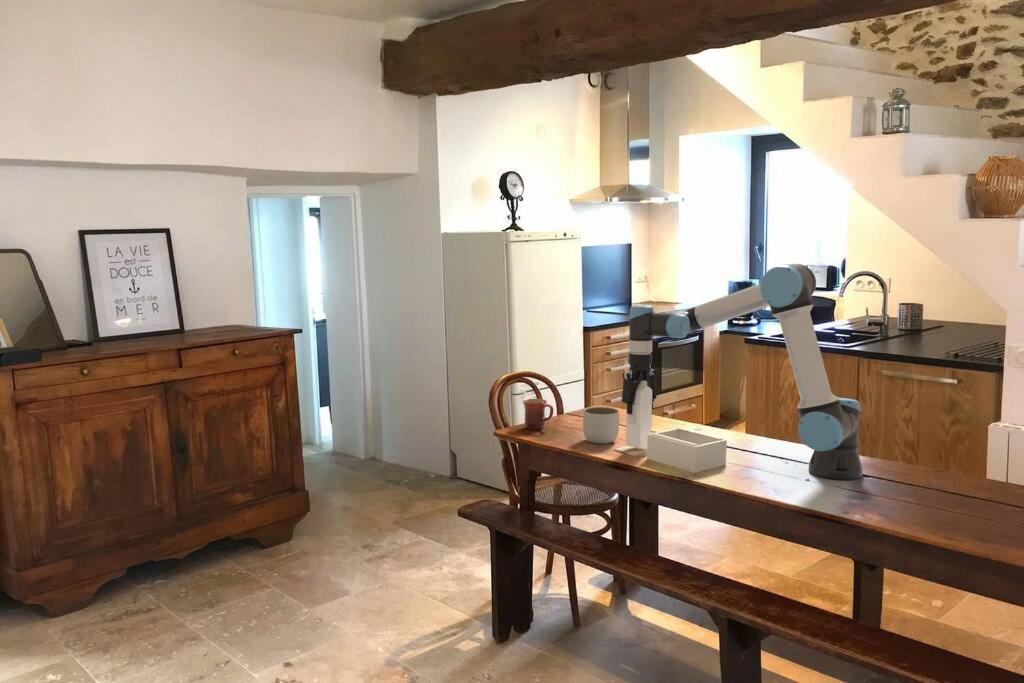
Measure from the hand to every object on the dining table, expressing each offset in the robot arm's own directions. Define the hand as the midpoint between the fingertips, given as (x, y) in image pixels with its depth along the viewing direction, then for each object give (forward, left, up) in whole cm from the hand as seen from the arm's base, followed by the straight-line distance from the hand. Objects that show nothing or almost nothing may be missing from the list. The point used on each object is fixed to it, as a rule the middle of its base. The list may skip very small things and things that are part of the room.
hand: (638, 422), depth 273 cm
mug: (+44, +7, -10) cm, 46 cm away
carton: (-18, -3, -10) cm, 21 cm away
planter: (+17, +1, -10) cm, 20 cm away
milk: (0, 0, -8) cm, 8 cm away
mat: (0, 0, -10) cm, 10 cm away
